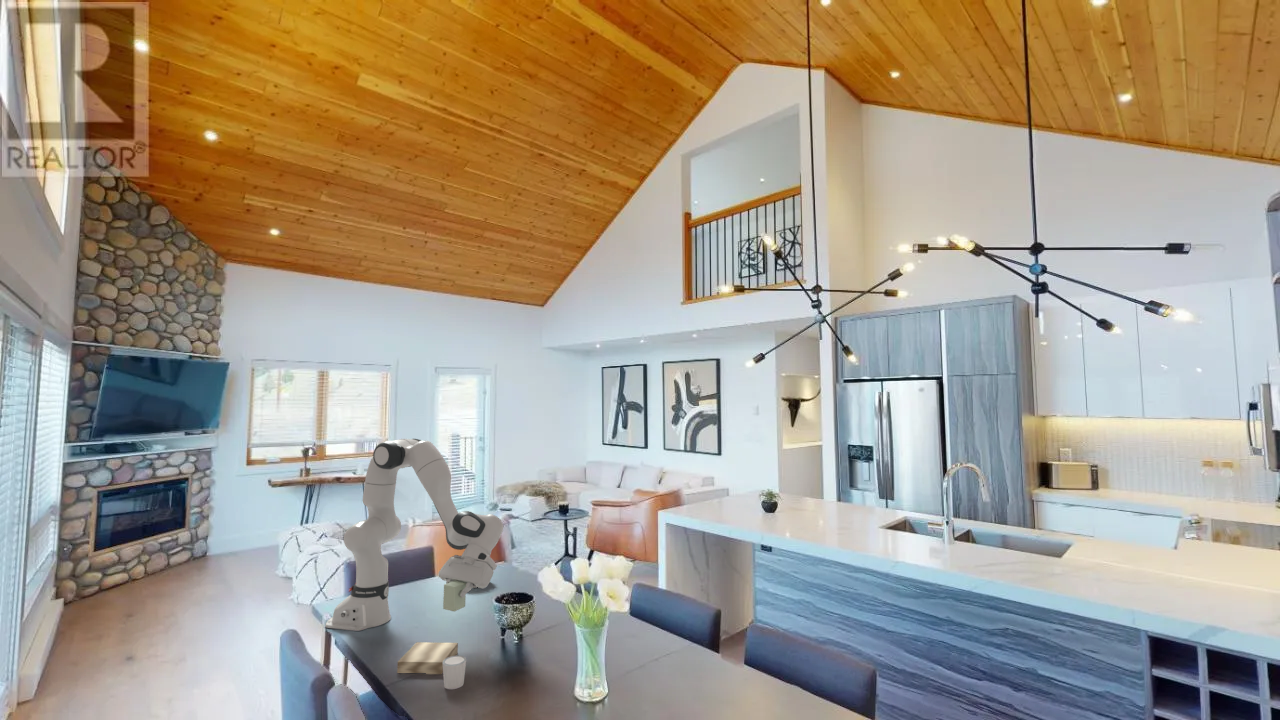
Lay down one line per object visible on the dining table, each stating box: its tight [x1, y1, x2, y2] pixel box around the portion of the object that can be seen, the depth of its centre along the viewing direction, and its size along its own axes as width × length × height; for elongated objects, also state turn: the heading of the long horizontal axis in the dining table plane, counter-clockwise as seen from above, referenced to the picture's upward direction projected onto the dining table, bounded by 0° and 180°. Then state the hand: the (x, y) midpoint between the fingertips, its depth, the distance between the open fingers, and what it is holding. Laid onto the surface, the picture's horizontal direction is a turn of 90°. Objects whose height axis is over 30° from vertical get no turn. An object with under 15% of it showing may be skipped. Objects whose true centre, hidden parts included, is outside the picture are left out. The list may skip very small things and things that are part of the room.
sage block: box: [442, 580, 467, 612], centre depth 189 cm, size 5×5×8 cm
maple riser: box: [396, 641, 459, 675], centre depth 180 cm, size 14×14×4 cm
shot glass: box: [442, 654, 467, 690], centre depth 167 cm, size 7×7×7 cm
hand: (453, 595), depth 189 cm, fingers closed on sage block, 5 cm apart
